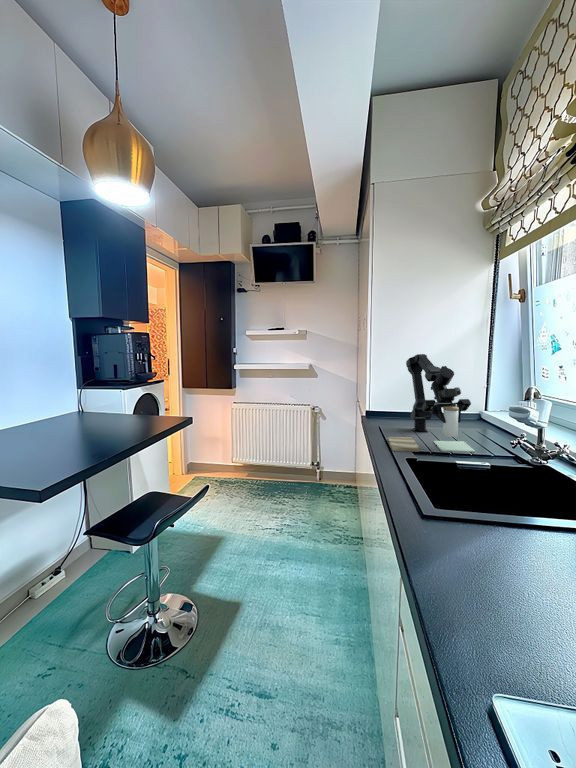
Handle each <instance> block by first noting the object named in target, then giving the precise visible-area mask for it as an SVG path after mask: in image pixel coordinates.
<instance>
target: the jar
mask: <svg viewBox="0 0 576 768" xmlns="http://www.w3.org/2000/svg"><path fill="white" fill-rule="evenodd" d="M442 409H443V410H442V412H443V415H444V418H445V421H446V422H445V423H443V422H442V435H443V436H444V437H447V438H448V437H449V438H456V437H458V435H459V433H458V432H459V423H458V412H459V407H457V406H443V408H442Z"/></svg>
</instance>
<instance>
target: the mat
mask: <svg viewBox="0 0 576 768" xmlns="http://www.w3.org/2000/svg"><path fill="white" fill-rule="evenodd" d="M432 442H433V443H434V445H435V446H436V445H437V446H436V447H437V448H438V450H439V451H441V452H452V453H453V452H454V453H455V452H458V453H476V450H475V449H474V448H472V447H471V446H470V445H469V444H467V442H466V441H463V440H462V441H460V440H459V441H458V440H455V441H454V440H451V441H450V440H433V441H432Z"/></svg>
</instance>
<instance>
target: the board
mask: <svg viewBox="0 0 576 768" xmlns="http://www.w3.org/2000/svg"><path fill="white" fill-rule="evenodd" d="M387 441H389V442H388V445H389V447H390V448H391V451H392V452H413V453H414V452H415V453H418V452H419V453H420V449H421V448H420V447H419V445H418V444H417V442H416V440H415V439H414V438H413V437H410V436H409V437H407V436H405V437H404V436H401V437H400V436H387Z"/></svg>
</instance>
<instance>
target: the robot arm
mask: <svg viewBox="0 0 576 768" xmlns="http://www.w3.org/2000/svg"><path fill="white" fill-rule="evenodd" d="M405 364H406V368H407V371H408V372H409V374H410V375H411V378H412V385H413V386H412V387H413V392H414V393H413V395H414V400H415V402H414V403H413V405H412V410H411V411H410V412H411V413H410V419H411V420H413V423H414V424H413V427H412V428H413V429H412V430H413V432H415V431H419V432H418V433H428V432H429V430H428V429H427V420H428V421H430V420H431V417H432V414H433V415H434V416H435V417H437V418H438V419H439V420H440V422H442V424H443V423H445V422H446V421H445V418H444V415H443V410H442V409H443V406H457V407H459V412H458V424H459V423H461V416H462V415H461V412H467V410H468V409H469V407H471V405H472V402H471V400H470V399H469V398H460V399H459V400H458V401H457V402H453V401H455V398H456V397H458V396H460V395H461V394H462V391H461V388H460V387H454V388H447V386H448V385H449V384H450V383H451V381H452V380H453V378H454V375H455V372H454V370H452V369H451V368H448V366H446V365H442V366H441V367H439V366H436V365H434V364H433V363H432V361H431V360H430V359H429V358H428V355H427V354H424V353H422V354H421V353H420V354H419V353H418V354H415V355H413V356H411V357H409V358H408V359H407V360H406V362H405ZM423 371H424V373H425V374H424V377H425V380H426V381H427V382H429V383H430V382H432V383H431V385H430V390H431V391H433V395H434V397H433V399H426V397H425V391H424V381H423V376H422V373H423Z"/></svg>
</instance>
